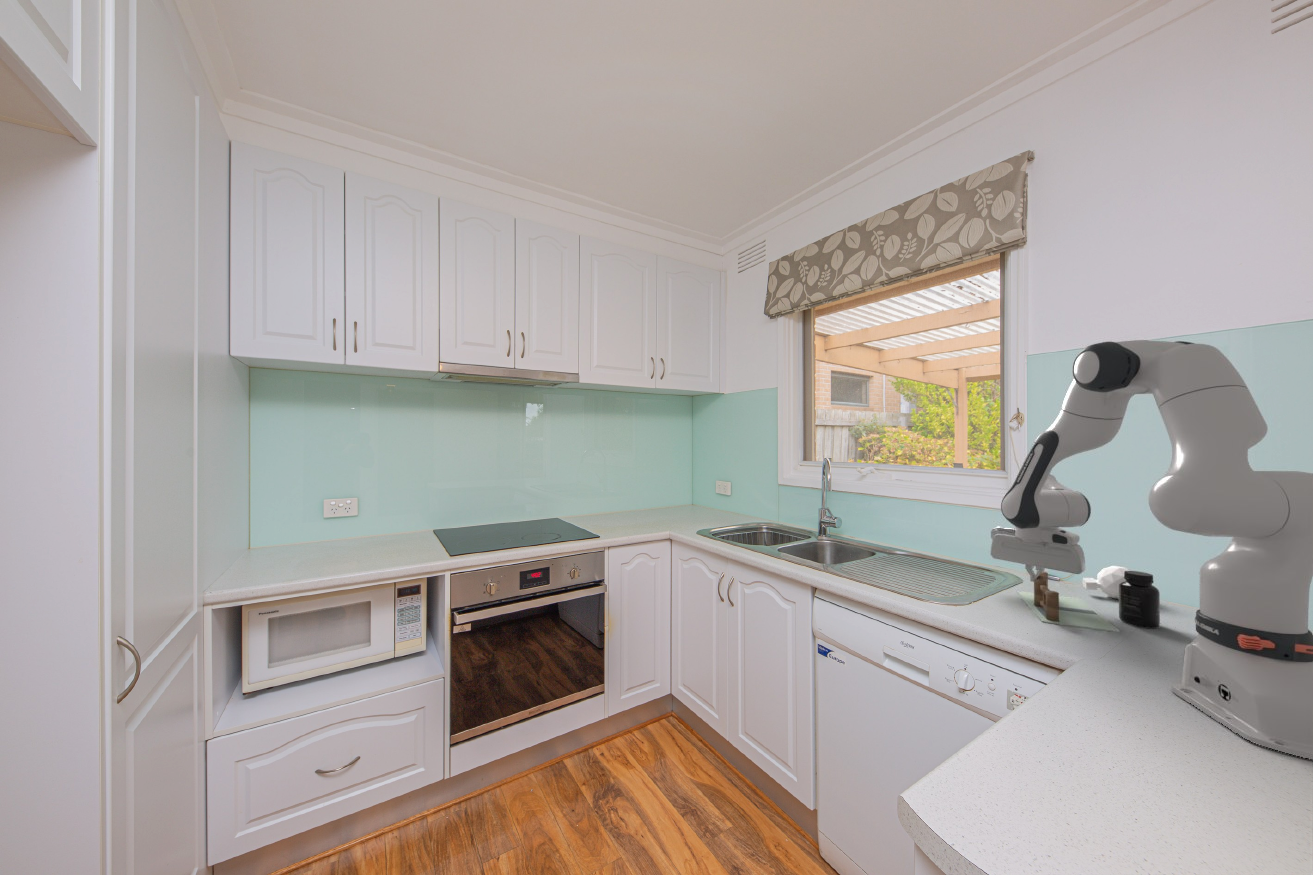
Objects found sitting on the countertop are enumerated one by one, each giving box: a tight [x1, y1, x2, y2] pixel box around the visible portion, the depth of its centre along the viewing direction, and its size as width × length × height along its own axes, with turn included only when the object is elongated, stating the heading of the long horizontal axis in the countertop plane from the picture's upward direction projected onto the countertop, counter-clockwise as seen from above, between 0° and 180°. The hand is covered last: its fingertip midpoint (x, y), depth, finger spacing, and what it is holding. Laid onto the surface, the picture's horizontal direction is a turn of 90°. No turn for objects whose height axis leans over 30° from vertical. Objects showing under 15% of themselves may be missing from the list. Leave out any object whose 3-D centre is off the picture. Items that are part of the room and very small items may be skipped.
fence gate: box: [1036, 570, 1049, 589], centre depth 126 cm, size 9×2×6 cm, turn 138°
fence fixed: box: [1033, 579, 1060, 622], centre depth 117 cm, size 12×2×7 cm, turn 154°
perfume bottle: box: [1082, 565, 1132, 600], centre depth 128 cm, size 9×9×12 cm
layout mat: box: [1016, 590, 1121, 633], centre depth 119 cm, size 24×14×1 cm, turn 154°
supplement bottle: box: [1118, 570, 1161, 629], centre depth 111 cm, size 7×7×12 cm
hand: (1034, 581), depth 127 cm, fingers closed
